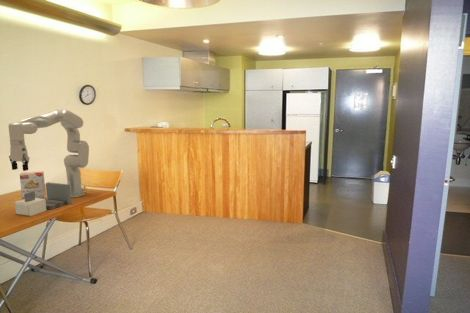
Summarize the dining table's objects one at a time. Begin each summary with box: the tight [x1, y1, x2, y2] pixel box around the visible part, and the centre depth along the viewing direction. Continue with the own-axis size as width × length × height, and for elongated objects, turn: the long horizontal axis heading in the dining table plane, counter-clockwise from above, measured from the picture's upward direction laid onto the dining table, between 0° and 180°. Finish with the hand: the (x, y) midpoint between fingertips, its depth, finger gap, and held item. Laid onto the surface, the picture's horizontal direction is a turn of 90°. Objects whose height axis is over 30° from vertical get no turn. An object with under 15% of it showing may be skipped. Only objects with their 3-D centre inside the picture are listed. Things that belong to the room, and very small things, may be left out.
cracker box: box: [19, 170, 47, 200], centre depth 234 cm, size 14×6×21 cm, turn 108°
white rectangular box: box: [14, 192, 47, 217], centre depth 208 cm, size 12×13×13 cm
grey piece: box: [45, 182, 72, 211], centre depth 222 cm, size 15×20×14 cm
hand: (20, 170), depth 203 cm, fingers open, 9 cm apart
